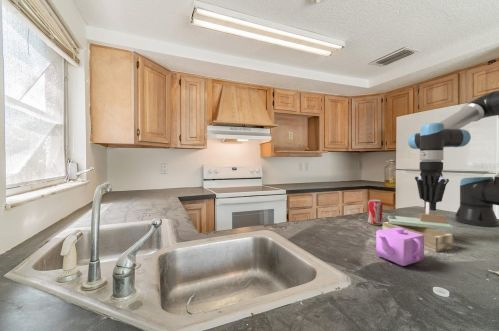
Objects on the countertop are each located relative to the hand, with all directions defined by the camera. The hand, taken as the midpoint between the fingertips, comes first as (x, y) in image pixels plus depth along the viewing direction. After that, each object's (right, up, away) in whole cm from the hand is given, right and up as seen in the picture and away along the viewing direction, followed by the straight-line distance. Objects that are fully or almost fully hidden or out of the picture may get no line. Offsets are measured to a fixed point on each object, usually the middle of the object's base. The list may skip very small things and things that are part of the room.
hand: (429, 217), depth 91 cm
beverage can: (-13, -8, +18) cm, 23 cm away
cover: (-5, -3, 0) cm, 6 cm away
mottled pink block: (-28, -9, -21) cm, 36 cm away
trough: (-10, -8, -5) cm, 13 cm away
